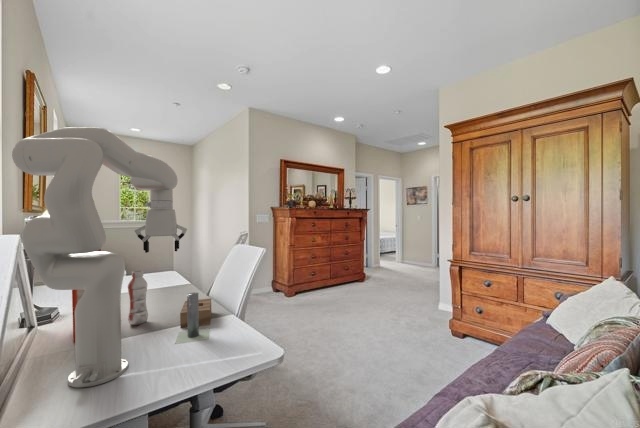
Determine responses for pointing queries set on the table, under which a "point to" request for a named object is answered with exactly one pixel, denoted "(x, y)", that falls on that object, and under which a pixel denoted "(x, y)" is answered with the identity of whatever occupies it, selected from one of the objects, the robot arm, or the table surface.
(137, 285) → the plastic bottle
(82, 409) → the table surface
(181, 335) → the mat
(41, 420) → the table surface
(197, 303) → the peg
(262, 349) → the table surface
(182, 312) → the hole block
